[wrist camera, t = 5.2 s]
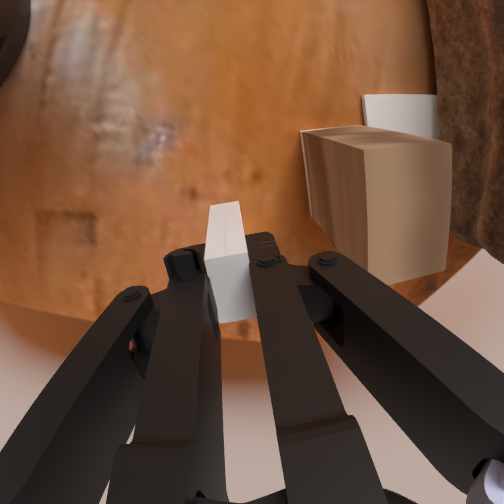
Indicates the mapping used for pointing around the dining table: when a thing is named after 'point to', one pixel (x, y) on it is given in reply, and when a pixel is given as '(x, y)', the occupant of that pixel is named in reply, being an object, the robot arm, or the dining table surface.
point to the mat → (403, 113)
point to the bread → (472, 114)
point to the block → (381, 198)
